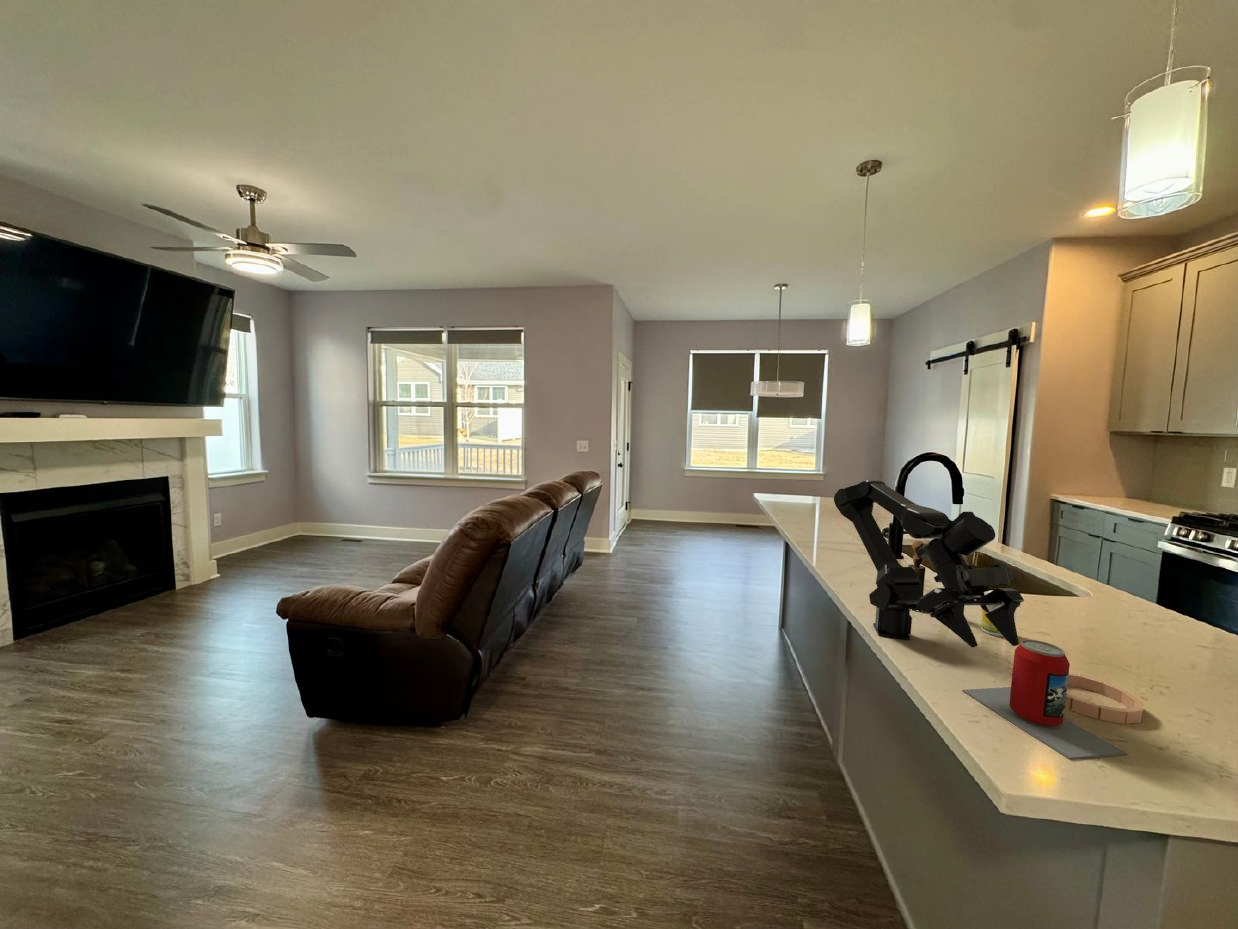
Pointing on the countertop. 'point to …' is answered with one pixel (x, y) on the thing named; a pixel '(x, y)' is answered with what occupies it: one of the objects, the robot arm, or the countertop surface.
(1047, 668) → the beverage can
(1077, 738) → the mat
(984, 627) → the supplement bottle
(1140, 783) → the countertop surface
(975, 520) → the robot arm
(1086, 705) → the segmented polygon ring
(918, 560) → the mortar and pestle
